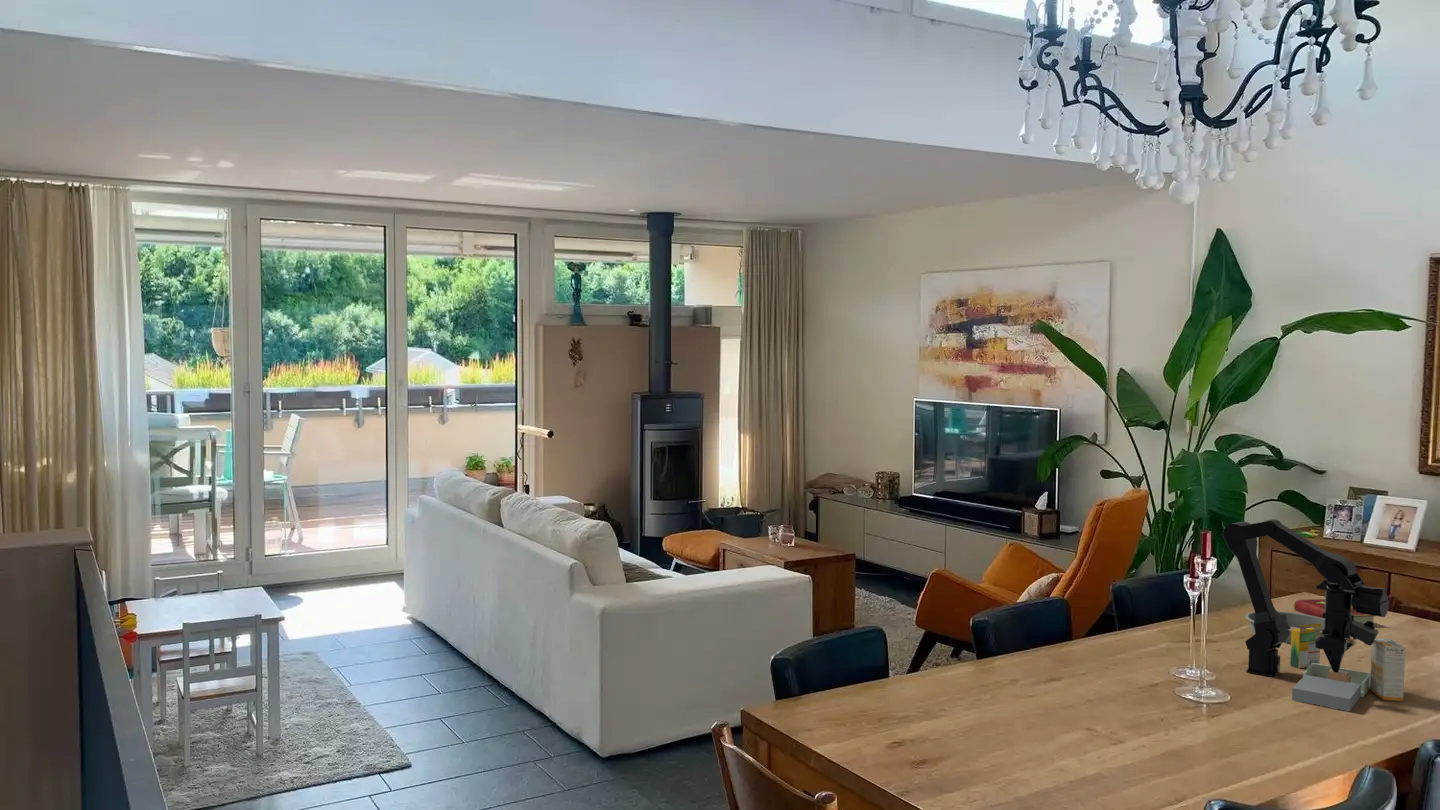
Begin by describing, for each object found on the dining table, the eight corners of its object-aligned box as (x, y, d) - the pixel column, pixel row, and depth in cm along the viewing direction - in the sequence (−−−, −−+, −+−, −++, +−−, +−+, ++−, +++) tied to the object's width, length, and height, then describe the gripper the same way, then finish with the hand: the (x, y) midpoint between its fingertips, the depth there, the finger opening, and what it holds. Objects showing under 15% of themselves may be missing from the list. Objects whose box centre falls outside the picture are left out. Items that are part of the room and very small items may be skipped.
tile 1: (1328, 670, 267) (1330, 668, 269) (1328, 686, 268) (1330, 684, 269) (1347, 674, 265) (1349, 672, 266) (1346, 690, 265) (1348, 688, 266)
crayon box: (1310, 663, 289) (1312, 620, 288) (1320, 666, 286) (1322, 623, 286) (1289, 665, 287) (1291, 622, 286) (1298, 668, 284) (1300, 625, 283)
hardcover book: (1339, 628, 328) (1339, 614, 328) (1293, 611, 349) (1294, 598, 349) (1375, 627, 330) (1375, 614, 329) (1327, 610, 350) (1328, 598, 350)
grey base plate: (1291, 700, 258) (1292, 688, 258) (1304, 686, 268) (1305, 674, 268) (1349, 711, 250) (1349, 699, 250) (1360, 697, 261) (1360, 684, 261)
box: (1302, 686, 269) (1302, 672, 269) (1311, 676, 277) (1312, 662, 277) (1363, 697, 260) (1363, 683, 260) (1371, 687, 269) (1371, 673, 269)
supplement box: (1404, 701, 258) (1407, 647, 257) (1382, 700, 259) (1384, 646, 258) (1390, 691, 266) (1392, 638, 265) (1368, 689, 267) (1371, 637, 266)
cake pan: (1357, 648, 306) (1358, 632, 306) (1270, 646, 306) (1270, 630, 306) (1311, 625, 330) (1311, 610, 330) (1230, 624, 331) (1230, 609, 330)
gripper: (1369, 621, 254) (1366, 687, 254) (1382, 608, 268) (1380, 670, 269) (1315, 614, 261) (1313, 678, 261) (1331, 601, 275) (1329, 661, 276)
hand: (1335, 672), depth 267 cm, fingers closed, pressing on tile 1
